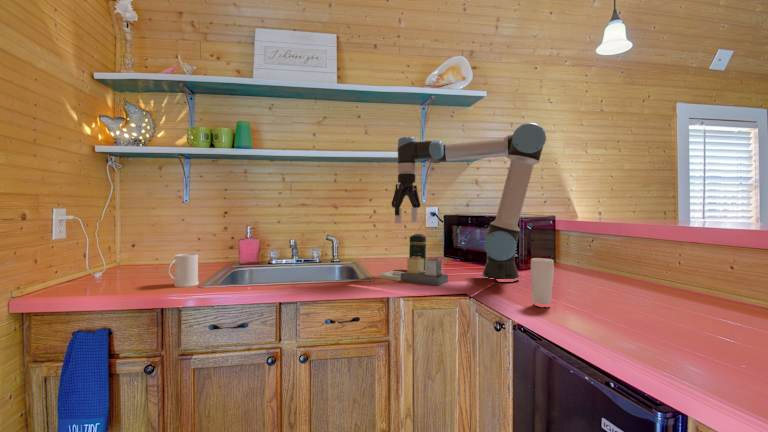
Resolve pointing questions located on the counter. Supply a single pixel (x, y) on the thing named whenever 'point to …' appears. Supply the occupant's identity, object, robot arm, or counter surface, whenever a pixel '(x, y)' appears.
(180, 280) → the mug
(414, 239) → the coffee jar
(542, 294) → the drinking glass
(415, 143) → the robot arm
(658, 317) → the counter surface
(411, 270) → the tan rectangular block
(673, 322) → the counter surface
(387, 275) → the tray
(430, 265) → the steel plug
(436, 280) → the dark grey flat block
